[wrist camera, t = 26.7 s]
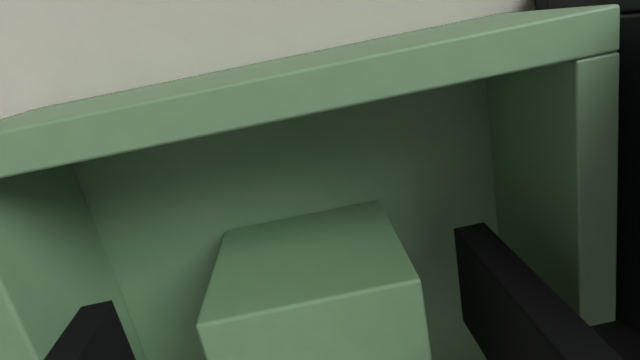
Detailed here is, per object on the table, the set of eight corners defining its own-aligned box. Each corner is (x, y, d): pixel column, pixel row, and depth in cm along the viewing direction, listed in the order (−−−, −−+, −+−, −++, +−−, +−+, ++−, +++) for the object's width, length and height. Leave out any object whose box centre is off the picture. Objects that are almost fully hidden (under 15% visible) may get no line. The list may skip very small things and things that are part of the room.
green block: (224, 230, 13) (193, 326, 9) (378, 198, 13) (421, 279, 9) (260, 357, 14) (249, 493, 10) (400, 328, 14) (446, 452, 10)
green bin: (32, 109, 12) (-114, 153, 8) (501, 12, 12) (621, 2, 8) (172, 462, 16) (129, 623, 12) (525, 389, 16) (614, 523, 12)
